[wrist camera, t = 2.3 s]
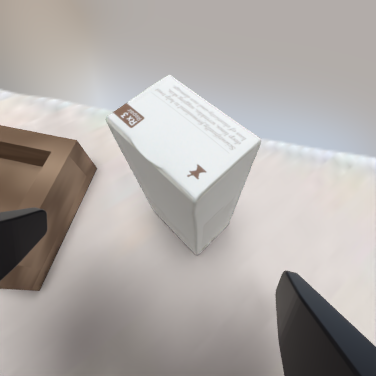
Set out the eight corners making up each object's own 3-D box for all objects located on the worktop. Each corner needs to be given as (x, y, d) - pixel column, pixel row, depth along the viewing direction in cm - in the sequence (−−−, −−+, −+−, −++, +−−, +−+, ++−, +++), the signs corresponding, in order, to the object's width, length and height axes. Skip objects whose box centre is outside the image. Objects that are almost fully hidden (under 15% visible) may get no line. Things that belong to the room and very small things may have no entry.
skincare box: (230, 223, 20) (275, 136, 10) (194, 259, 19) (199, 207, 8) (182, 179, 22) (174, 66, 12) (147, 209, 21) (99, 114, 10)
